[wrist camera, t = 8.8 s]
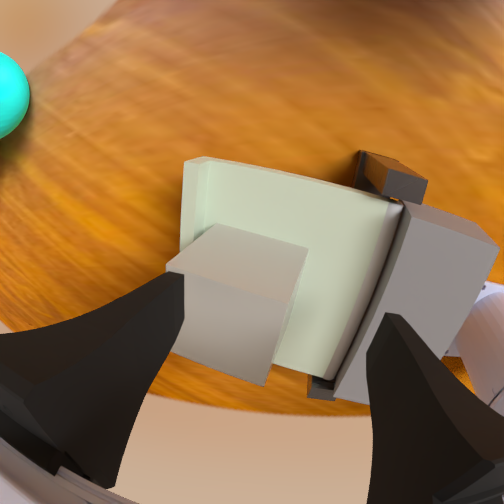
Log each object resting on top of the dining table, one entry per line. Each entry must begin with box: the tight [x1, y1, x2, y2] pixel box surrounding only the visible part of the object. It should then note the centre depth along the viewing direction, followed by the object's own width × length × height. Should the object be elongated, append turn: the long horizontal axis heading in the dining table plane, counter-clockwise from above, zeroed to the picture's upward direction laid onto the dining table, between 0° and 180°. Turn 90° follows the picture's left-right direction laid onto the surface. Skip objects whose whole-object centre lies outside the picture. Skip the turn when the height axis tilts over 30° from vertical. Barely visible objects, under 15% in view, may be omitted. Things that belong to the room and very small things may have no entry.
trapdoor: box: [180, 156, 500, 405], centre depth 16 cm, size 16×12×4 cm
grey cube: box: [166, 223, 309, 387], centre depth 14 cm, size 5×5×5 cm
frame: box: [307, 150, 428, 401], centre depth 18 cm, size 2×15×6 cm, turn 172°
